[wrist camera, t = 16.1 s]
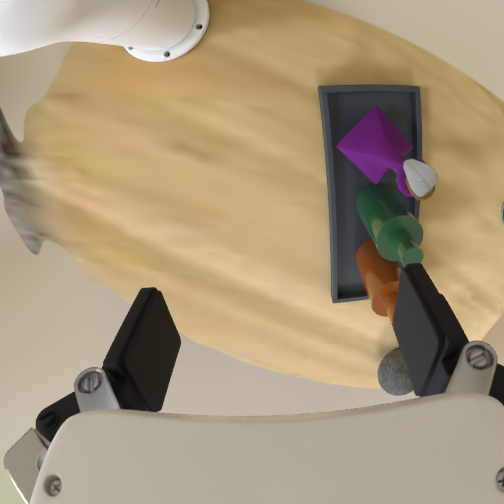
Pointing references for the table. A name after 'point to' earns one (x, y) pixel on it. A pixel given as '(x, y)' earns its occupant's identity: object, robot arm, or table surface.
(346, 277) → the tray
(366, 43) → the table surface
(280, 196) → the table surface
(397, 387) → the decorative ball
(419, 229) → the green bottle
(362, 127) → the perfume bottle
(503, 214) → the canned tomato
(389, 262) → the amber bottle
